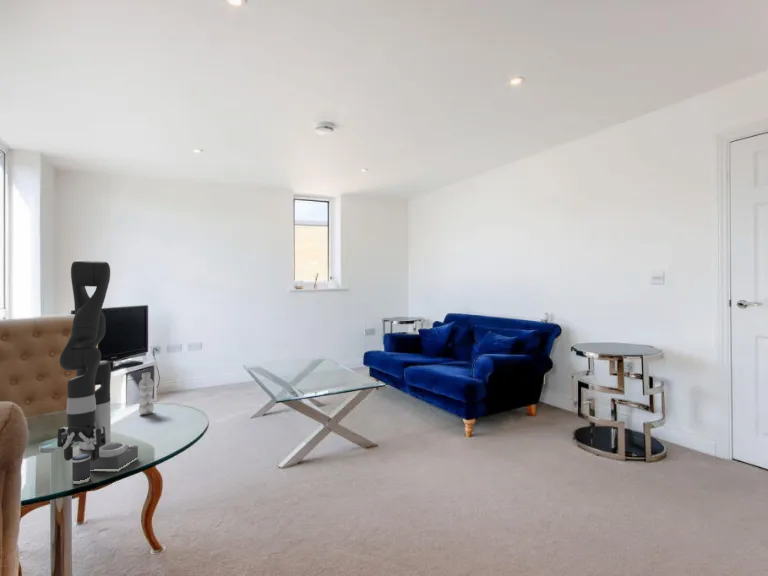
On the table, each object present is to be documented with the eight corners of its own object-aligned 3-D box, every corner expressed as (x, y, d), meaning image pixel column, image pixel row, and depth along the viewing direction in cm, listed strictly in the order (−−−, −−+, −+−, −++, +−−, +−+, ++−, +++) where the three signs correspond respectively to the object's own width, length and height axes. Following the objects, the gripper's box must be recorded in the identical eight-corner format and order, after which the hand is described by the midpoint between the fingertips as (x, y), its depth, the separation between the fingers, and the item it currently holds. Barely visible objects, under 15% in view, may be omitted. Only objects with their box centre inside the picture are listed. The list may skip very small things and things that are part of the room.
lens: (68, 484, 127) (67, 459, 127) (80, 477, 132) (80, 453, 132) (82, 485, 127) (82, 459, 127) (94, 477, 132) (94, 453, 132)
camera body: (89, 471, 136) (89, 451, 136) (111, 458, 146) (111, 439, 146) (118, 472, 136) (118, 451, 136) (137, 459, 146) (137, 440, 146)
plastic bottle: (150, 411, 200) (150, 371, 200) (156, 413, 196) (156, 373, 196) (136, 414, 195) (136, 373, 195) (141, 417, 191) (141, 375, 191)
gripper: (49, 413, 126) (50, 464, 126) (93, 413, 125) (94, 465, 125) (69, 406, 133) (70, 454, 133) (111, 406, 133) (111, 455, 133)
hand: (81, 459), depth 129 cm, fingers open, 8 cm apart
